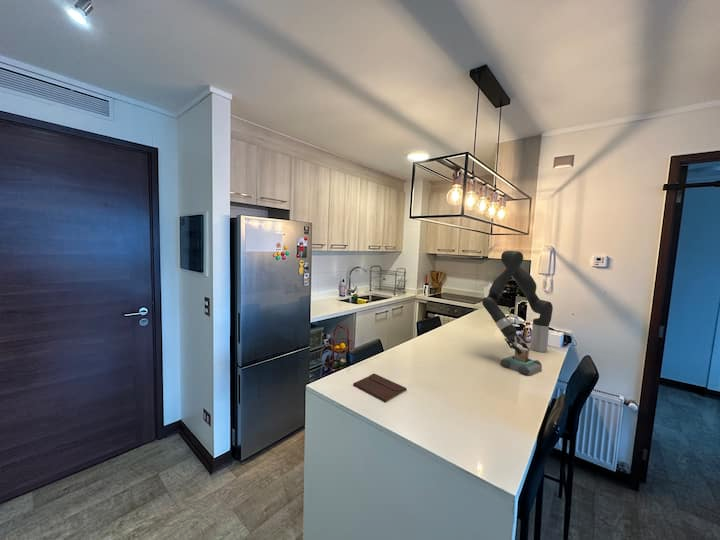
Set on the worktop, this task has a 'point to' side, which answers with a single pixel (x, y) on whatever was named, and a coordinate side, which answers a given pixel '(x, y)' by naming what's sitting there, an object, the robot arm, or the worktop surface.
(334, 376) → the worktop surface
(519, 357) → the engine block
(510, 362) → the chassis
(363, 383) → the notebook
